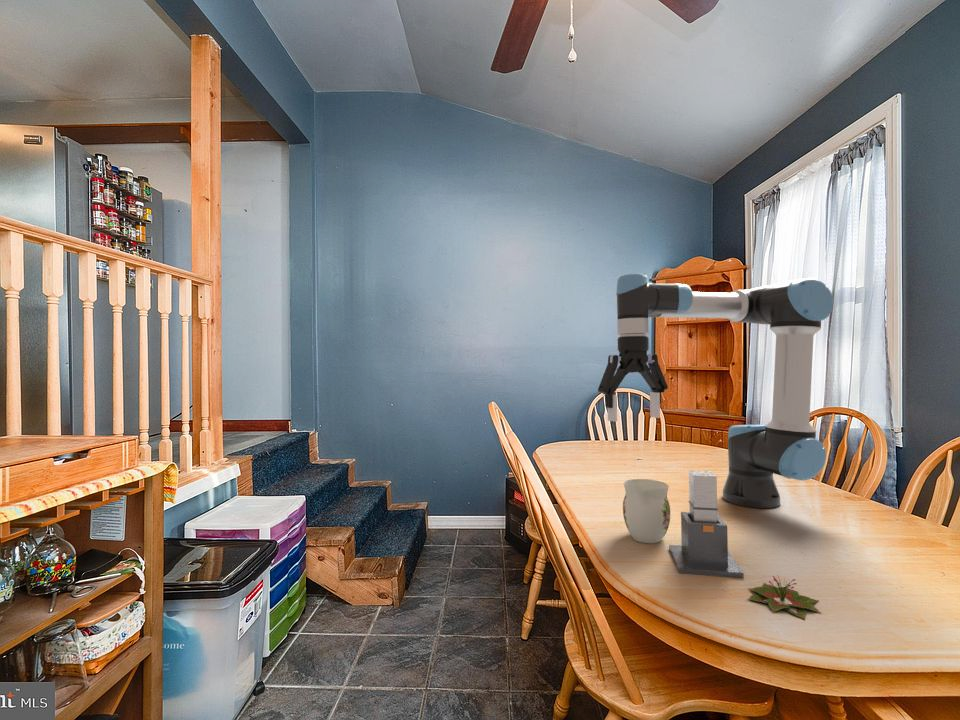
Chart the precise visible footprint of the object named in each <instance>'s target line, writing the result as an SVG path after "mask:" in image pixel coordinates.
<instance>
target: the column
mask: <svg viewBox="0 0 960 720" xmlns="http://www.w3.org/2000/svg"><path fill="white" fill-rule="evenodd" d="M717 477H718V476H717V475H716V474H715V473H714V472H713V471H712V470H688V490H689V491H688V493H689V494H688V495H689V496H688V498H689V500H688V503H689V512H690V520H691V521H692V522H698V523H716V524H717V514H718V511H719V508H718V486H717V485H718V483H717V481H718V479H717Z"/></svg>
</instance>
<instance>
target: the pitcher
mask: <svg viewBox="0 0 960 720" xmlns="http://www.w3.org/2000/svg"><path fill="white" fill-rule="evenodd" d="M623 486H624V491H625V495H624V498H623V501H622V515H623V519H624V520H623V521H624V524H625V526H626V529H627V531H628V533H629V534H630V535H631V537H632V539H633V540H634V541H637V542H640V543H645V544H657V543H660V542H661V541H662V539H663V538H664V537H665V535H666V534H667V532H668V529H669V527H670V523H671V505H670V501H669V498H668V492H669V484H668V483H665V482H663V481H659V480H655V479H648V478H634V479H628V480H625V481H624V482H623Z"/></svg>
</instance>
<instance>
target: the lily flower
mask: <svg viewBox="0 0 960 720" xmlns="http://www.w3.org/2000/svg"><path fill="white" fill-rule="evenodd" d="M772 577H773V581H774V582H775V583H776V585H777V586H778V587H777V586H775V585H774V584H773V582H771V580H768V583H769V584H767V583H765V582H763V585H762V586H757V587H756V586H755V587H751V588H747V589H749V590H751V591H754V592H756V593H754V594H752V595H750V597H748V598H747V600H750V601H756V602H759V603H760V602H761V603H763V604H767V605H768V606H769V607H770V609H771V611H772V613H775V612H777V611H779V610H782V609H783V610H784V611H787V612H788V613H790V614H792V615H795V616H797V617H798V618H801V619H803V620H805V619H806V615H807V612H806V610H805V609H807V610H811V611H813V612H817V613H819V614H822V612H821V611H820V610H818V608H816V606H815V605H814V604H815V603H817V602H819V600H817V599H815V598H811V597H809V596H805V595H800V594H799V591H797V590H794V586H795V585H798V583H797V582H795V581H796V578H795V579H792V580H791V581H789V583H787V580H786V578H783V580H784V581H785V580H786V581H785V584H784V586H782V583H781V582H779V581H781V579H780V576H779V575H777V578H778V579H779V581H778V580H777V578H776V577H775V576H774V575H772ZM792 582H794V583H792ZM792 585H794V586H792ZM789 587H790V588H789ZM778 598H779V599H780V600H779V601H781V602H785V600H787V601H789V602H790V604H789V603H788V604H787V603H786V604H785V603H780V602H779V601H777V600H776V599H778ZM791 607H795V611H794V610H791V609H790V608H791Z"/></svg>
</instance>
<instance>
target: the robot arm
mask: <svg viewBox="0 0 960 720" xmlns="http://www.w3.org/2000/svg"><path fill="white" fill-rule="evenodd" d="M615 295H616V308H617V309H616V311H617V312H616V313H617V315H616V316H617V320H616V321H617V335H619V337H618V338H617V351H618V352H619V355H618V354H611V355H610V354H609V355H608V356H607V365H606V367H605V370H604V372H603V376H602V377H601V379H600V383H599V385H598V388H597V392H598V393H601V394H602V395H604V400H605V401H604V402H605V403H604V404H605V408H607V421H608V422H609V421H610V422H618V403H617V402H618V401H617V400H618V398H617V394H615V392H616V391H617V390H618V388H619V386H620V385H621V383H622V382H623V380H624V379H625V377H626V375H628V374H629V373H639V374H640V375H641V377H642V378H643V379H644V381H645V382H646V384H647V385H648V386H649V388H650V389H651V390H652V391H649V406H650V407H649V418H654V419H660V418H661V405H662V393H665V391H666V390H668V388H669V387H668V384H667V381H666V379H665V376H664V373H663V371H662V369H661V366H660V364H659V361H658V360H659V358H658V354H655V353H654V354H647V353H648V351H649V349H650V346H649V345H650V344H649V343H650V342H649V341H650V340H649V339H650V338H649V337H648V336H647V335H649V333H650V332H649V318H677V319H679V318H680V319H681V318H682V319H683V318H685V319H687V318H688V319H689V318H691V319H693V318H694V319H727V320H729V321H730V322H732V323H746V324H747V323H748V324H757V325H770V326H769V330H771V331H772V333H774V334H775V351H774V353H775V355H774V370H773V372H774V373H773V394H772V411H771V412H772V413H771V420H770V421H769V422H768V423H767V424H766V423H765V424H761V423H760V424H758V423H757V424H737V425H735V424H734V425H731V426H730V427H729V428H728V431H727V432H728V433H727V435H728V436H727V450H728V451H727V455H728V458H727V459H728V474H727V477H726V479H725V482H724V486H723V488H722V499H723V500H725V501H726V502H728V503H731V504H735V505H738V506H740V507H741V506H742V507H749V508H757V509H770V508H771V509H773V508H776V507H779V506H781V495H780V492H779V489H778V487H777V484H776V482H775V480H774V474H775V475H777V476H778V475H779V476H780V477H781V476H782V477H783V478H785V479H788V480H789V479H792V480H797V481H808V480H811V479H814V478H815V477H816V476H817V475H818V474H819V473H821V471H822V470H823V469H824V467H825V464H826V460H827V450H826V448H825V446H824V444H823V443H822V442H821V441H819V440H818V439H817V438H816V436H817V435H816V434H817V431H816V429H815V428H814V427H813V426H812V425H811V424H810V419H811V418H810V416H811V414H810V413H811V396H812V393H811V392H812V376H813V375H812V374H813V358H814V357H813V356H814V355H813V354H814V337H815V334H816V333H818V332H819V331H820V330H821V329H822V321H824V320H826V319H827V318H828V317H829V316H830V314H832V313H833V310H834V297H833V293H832V292H831V290H830V288H829V287H827V286H826V284H825V283H824V282H822V281H821V280H819V279H817V278H813V277H807V278H805V277H804V278H795V279H792V280H788V281H784V282H783V281H782V282H778V283H774V284H768V285H762V286H759V287H754V288H750V289H748V288H747V289H735V290H732V291H731V292H706V291H705V292H704V291H703V292H702V291H701V292H700V291H693V290H692V288H691V287H690V285H688V284H685V283H683V284H682V283H678V282H675V283H654V282H653V283H651V282H649V278H648V276H647V275H646V274H644V273H630V274H624V275H620V276H619V277H618V278H617V283H616V293H615ZM618 365H619V366H618Z"/></svg>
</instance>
